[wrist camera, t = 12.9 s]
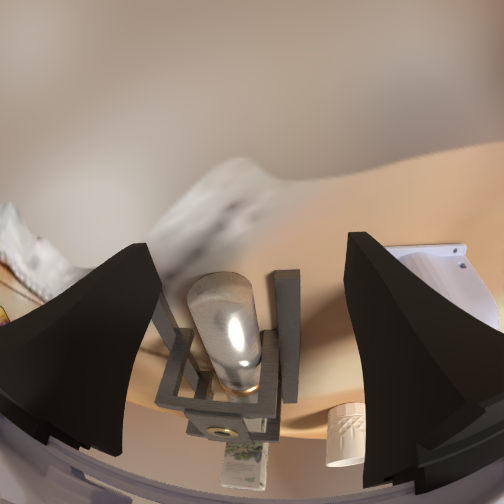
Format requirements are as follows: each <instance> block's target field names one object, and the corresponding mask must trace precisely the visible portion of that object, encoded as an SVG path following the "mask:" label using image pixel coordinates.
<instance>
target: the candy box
mask: <svg viewBox="0 0 504 504" xmlns="http://www.w3.org/2000/svg"><path fill="white" fill-rule="evenodd" d="M7 323H10V321H9V319H8V317H7V315H6V313H5V312H4V310H3V308H1V307H0V326H3V325H5V324H7Z"/></svg>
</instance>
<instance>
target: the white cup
mask: <svg viewBox="0 0 504 504" xmlns="http://www.w3.org/2000/svg"><path fill="white" fill-rule="evenodd" d="M365 441H366V414H365V404H364V403H360V402H353V403H345V404H342V405H338V406H336V407H334V408H332V409H330V411H329V412H328V428H327V448H326V466H329V467H340V466H349V465H355V464H360V463H364V459H365Z"/></svg>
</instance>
